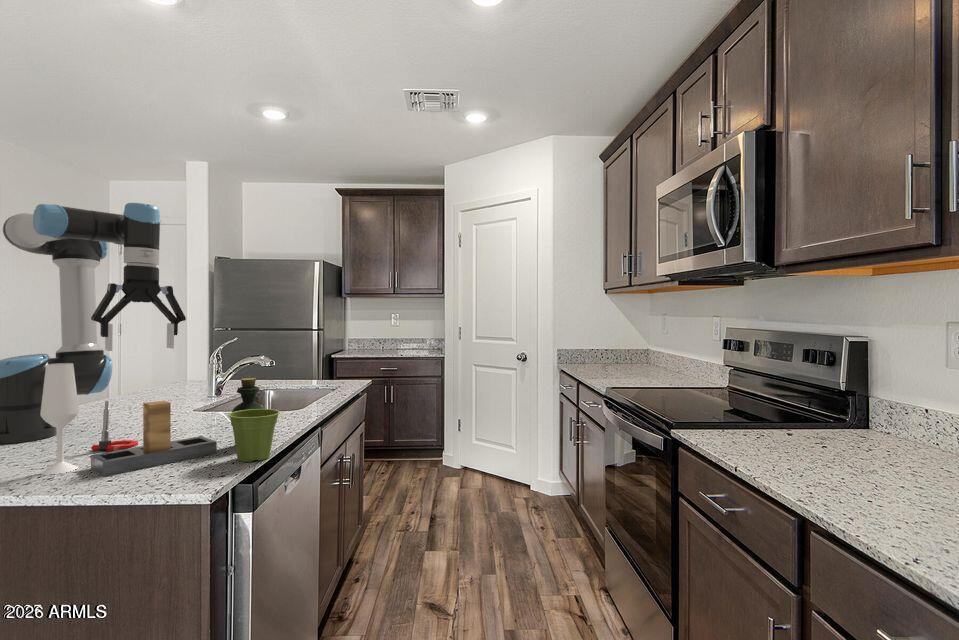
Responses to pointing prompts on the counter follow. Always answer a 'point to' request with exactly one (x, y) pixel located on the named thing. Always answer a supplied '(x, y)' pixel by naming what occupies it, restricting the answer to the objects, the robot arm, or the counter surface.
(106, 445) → the tow hook
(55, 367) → the champagne flute
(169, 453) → the grey slotted tray
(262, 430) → the plant pot
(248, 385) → the potion bottle
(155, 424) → the ochre peg
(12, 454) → the counter surface
